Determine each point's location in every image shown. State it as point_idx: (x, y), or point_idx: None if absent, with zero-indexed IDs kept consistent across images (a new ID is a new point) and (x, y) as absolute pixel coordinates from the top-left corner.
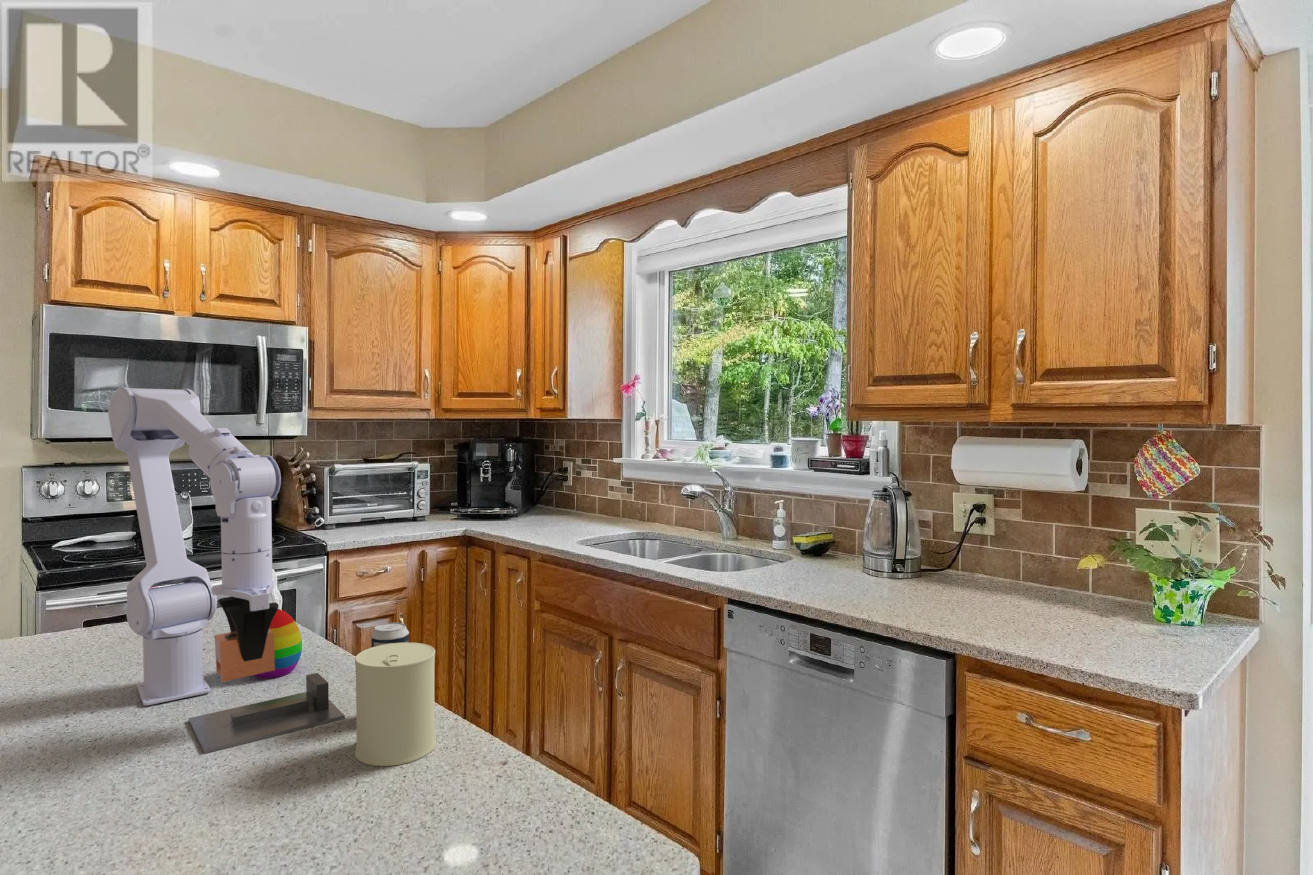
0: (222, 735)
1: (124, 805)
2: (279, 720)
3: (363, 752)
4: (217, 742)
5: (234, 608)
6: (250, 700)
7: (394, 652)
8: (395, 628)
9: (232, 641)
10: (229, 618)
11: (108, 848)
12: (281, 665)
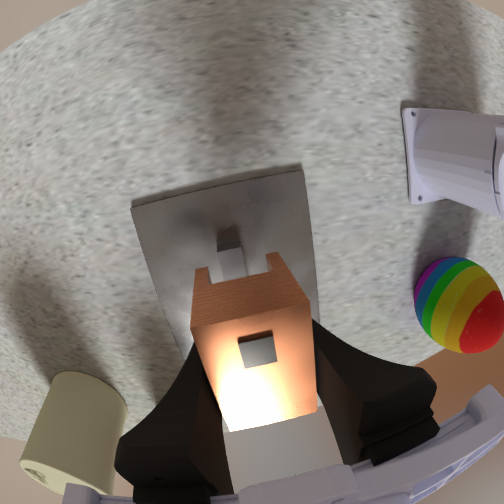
0: (184, 231)
1: (19, 135)
2: None
3: (56, 381)
4: (154, 225)
5: (145, 470)
6: (346, 262)
7: None
8: None
9: (202, 355)
10: (336, 373)
11: None
12: (416, 308)
